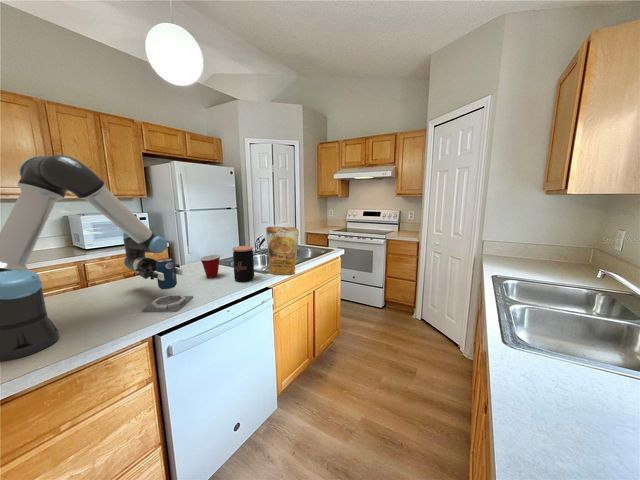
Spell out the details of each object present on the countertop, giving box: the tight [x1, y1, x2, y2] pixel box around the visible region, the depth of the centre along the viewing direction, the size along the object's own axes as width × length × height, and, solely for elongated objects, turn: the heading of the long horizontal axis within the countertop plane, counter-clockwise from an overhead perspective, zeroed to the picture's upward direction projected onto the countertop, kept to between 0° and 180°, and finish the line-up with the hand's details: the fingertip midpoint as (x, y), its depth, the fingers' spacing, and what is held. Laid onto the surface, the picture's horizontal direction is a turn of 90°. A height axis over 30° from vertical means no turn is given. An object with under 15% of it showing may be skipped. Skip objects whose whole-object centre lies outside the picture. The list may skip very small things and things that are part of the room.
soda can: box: [156, 257, 178, 291], centre depth 108 cm, size 7×7×12 cm
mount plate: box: [141, 294, 194, 313], centre depth 110 cm, size 14×14×2 cm
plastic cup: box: [199, 254, 221, 279], centre depth 146 cm, size 11×11×12 cm
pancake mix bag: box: [265, 226, 299, 276], centre depth 150 cm, size 7×19×28 cm, turn 80°
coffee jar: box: [232, 245, 255, 283], centre depth 141 cm, size 11×11×18 cm
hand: (172, 274), depth 105 cm, fingers closed on soda can, 7 cm apart
